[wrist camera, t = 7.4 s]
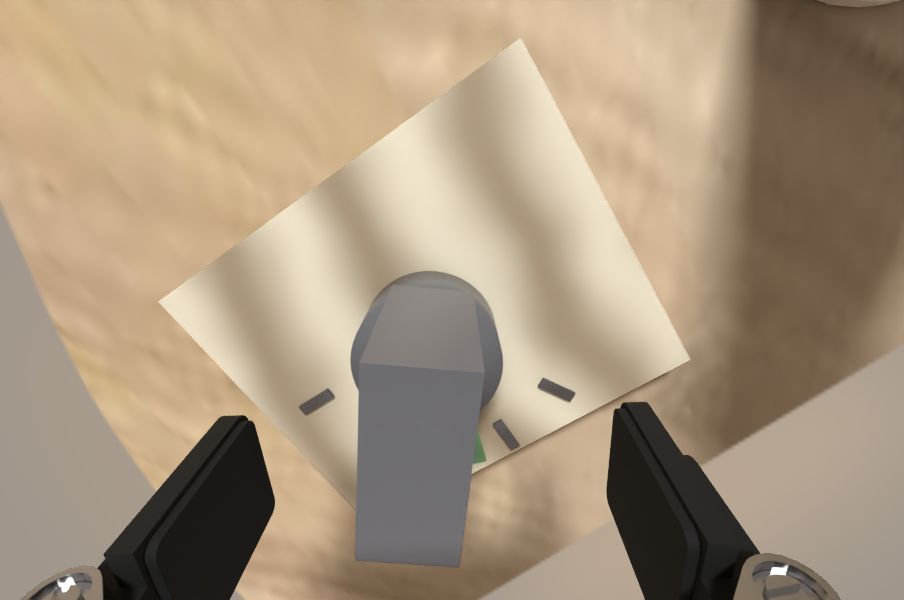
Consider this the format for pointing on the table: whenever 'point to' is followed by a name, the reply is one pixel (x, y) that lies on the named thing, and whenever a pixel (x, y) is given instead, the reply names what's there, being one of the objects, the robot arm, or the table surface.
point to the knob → (420, 415)
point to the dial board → (444, 250)
